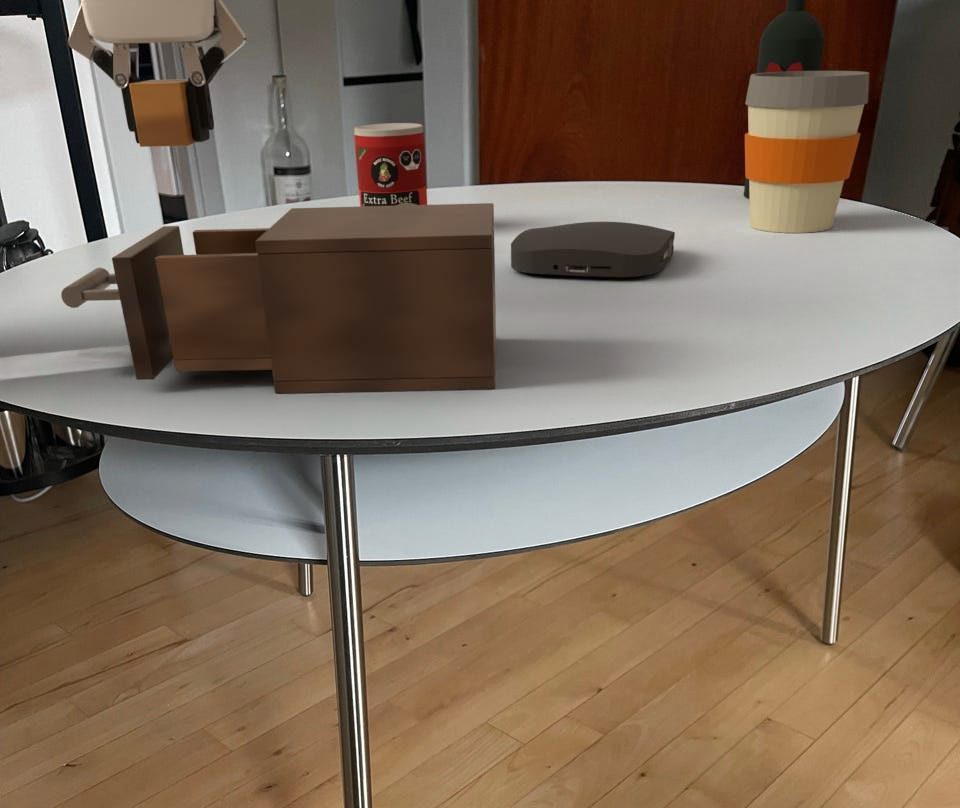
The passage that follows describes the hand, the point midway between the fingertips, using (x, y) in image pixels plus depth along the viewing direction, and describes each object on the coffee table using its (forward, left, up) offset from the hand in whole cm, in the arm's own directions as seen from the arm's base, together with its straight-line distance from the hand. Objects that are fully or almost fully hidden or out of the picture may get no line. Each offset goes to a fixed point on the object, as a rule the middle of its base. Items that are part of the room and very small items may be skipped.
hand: (173, 138), depth 85 cm
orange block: (0, 0, 0) cm, 0 cm away
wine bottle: (+75, +29, -13) cm, 81 cm away
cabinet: (+12, -26, -13) cm, 31 cm away
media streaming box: (+38, 0, -13) cm, 40 cm away
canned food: (+24, +26, -13) cm, 38 cm away
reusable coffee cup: (+66, +10, -13) cm, 68 cm away
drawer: (0, -22, -12) cm, 25 cm away
